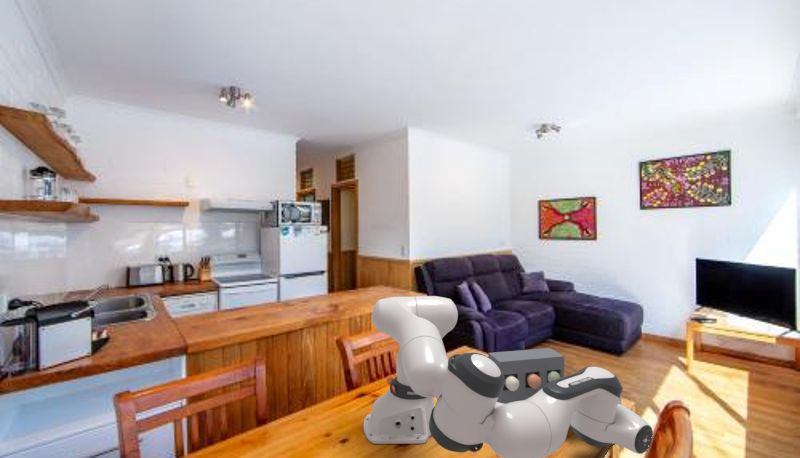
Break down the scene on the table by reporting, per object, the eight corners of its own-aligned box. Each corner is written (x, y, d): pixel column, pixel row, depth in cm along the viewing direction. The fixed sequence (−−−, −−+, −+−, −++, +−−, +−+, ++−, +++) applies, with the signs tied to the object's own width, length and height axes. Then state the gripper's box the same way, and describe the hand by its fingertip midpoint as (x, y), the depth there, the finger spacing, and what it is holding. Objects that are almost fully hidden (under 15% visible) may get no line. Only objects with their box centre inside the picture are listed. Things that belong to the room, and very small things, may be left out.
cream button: (507, 391, 112) (507, 378, 112) (504, 388, 114) (504, 376, 114) (519, 390, 113) (519, 377, 113) (515, 387, 115) (516, 374, 115)
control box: (499, 410, 114) (499, 361, 113) (487, 398, 122) (488, 352, 121) (563, 402, 119) (564, 356, 118) (549, 391, 127) (549, 347, 126)
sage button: (548, 385, 117) (549, 372, 117) (545, 382, 119) (545, 370, 119) (559, 383, 118) (560, 371, 118) (556, 381, 120) (556, 369, 120)
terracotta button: (529, 389, 114) (529, 376, 114) (526, 386, 116) (526, 373, 116) (541, 388, 115) (541, 375, 115) (537, 385, 117) (537, 372, 117)
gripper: (563, 421, 98) (534, 397, 111) (625, 413, 102) (590, 391, 115) (564, 399, 97) (534, 377, 111) (625, 392, 102) (590, 372, 115)
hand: (563, 384), depth 113 cm, fingers closed
